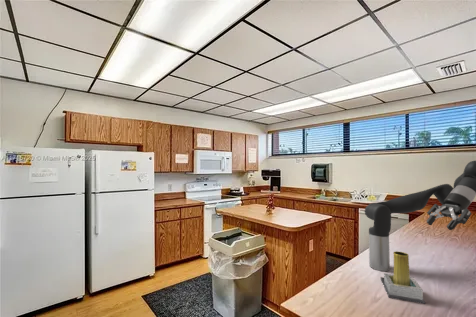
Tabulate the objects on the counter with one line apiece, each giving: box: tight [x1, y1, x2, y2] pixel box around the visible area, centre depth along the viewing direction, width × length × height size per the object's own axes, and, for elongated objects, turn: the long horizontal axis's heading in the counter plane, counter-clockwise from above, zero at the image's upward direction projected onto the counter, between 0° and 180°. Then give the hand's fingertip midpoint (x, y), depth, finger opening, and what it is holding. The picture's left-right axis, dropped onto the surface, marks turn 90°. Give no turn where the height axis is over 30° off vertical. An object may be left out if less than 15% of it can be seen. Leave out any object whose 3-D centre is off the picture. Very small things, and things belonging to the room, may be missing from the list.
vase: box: [392, 250, 411, 286], centre depth 99 cm, size 6×6×14 cm
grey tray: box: [380, 273, 426, 305], centre depth 101 cm, size 17×12×5 cm
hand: (438, 226), depth 99 cm, fingers open, 8 cm apart
